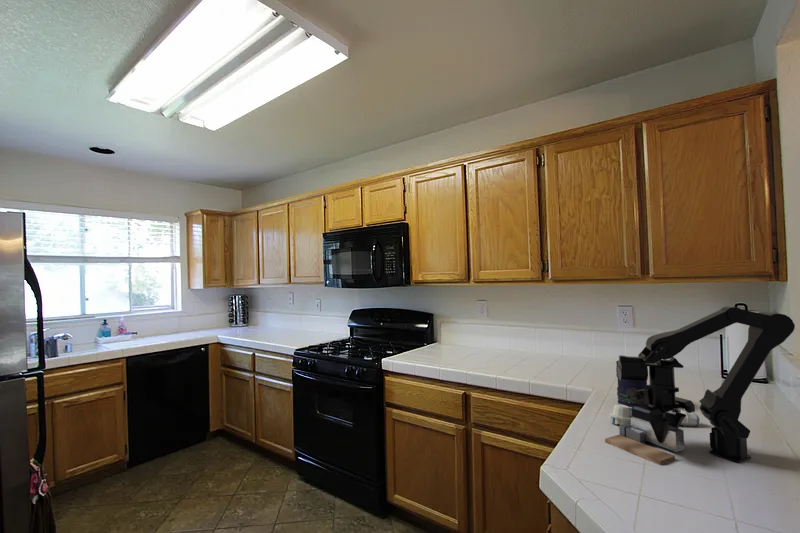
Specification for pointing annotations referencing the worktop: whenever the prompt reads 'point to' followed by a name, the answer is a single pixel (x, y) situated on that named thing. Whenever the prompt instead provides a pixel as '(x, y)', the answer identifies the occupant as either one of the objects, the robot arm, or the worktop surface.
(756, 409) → the worktop surface
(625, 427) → the vise
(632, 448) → the board
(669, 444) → the steel bar
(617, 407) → the toothbrush head
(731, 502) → the worktop surface
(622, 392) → the storage jar
